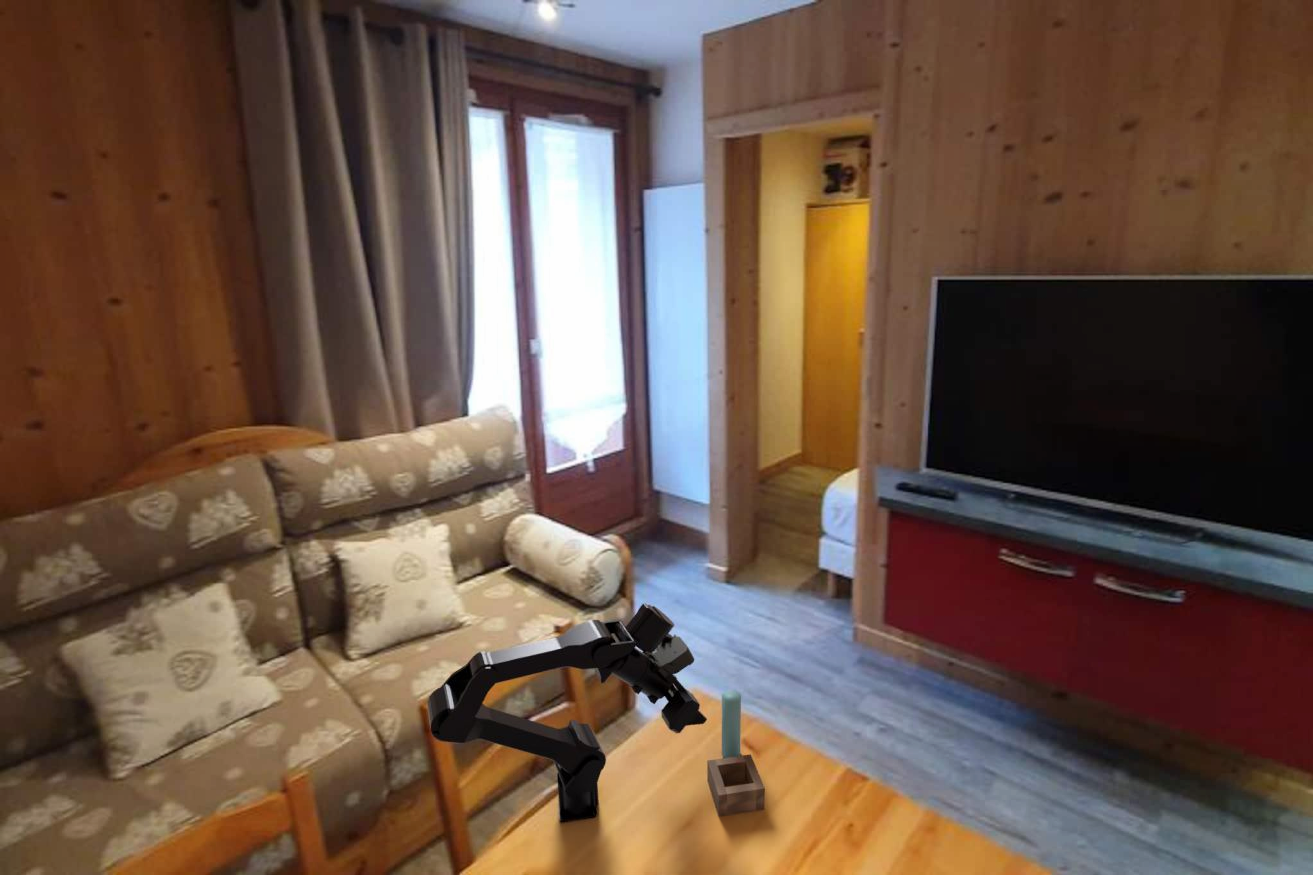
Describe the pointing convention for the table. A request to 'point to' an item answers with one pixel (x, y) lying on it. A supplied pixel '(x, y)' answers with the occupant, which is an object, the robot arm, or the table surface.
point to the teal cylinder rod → (731, 723)
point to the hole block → (735, 796)
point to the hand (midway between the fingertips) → (693, 705)
